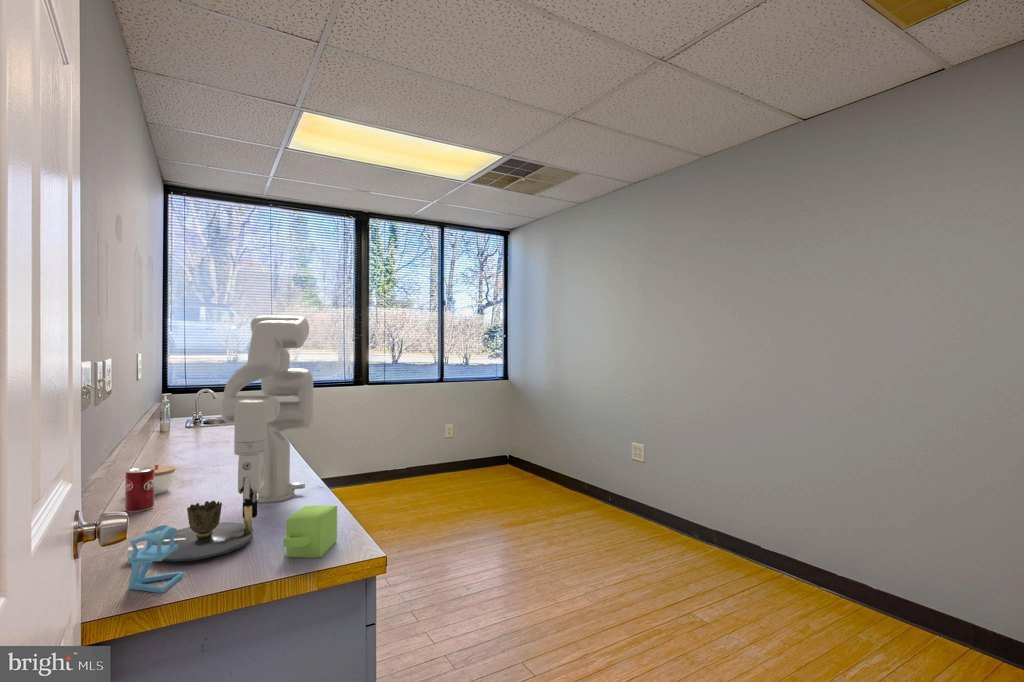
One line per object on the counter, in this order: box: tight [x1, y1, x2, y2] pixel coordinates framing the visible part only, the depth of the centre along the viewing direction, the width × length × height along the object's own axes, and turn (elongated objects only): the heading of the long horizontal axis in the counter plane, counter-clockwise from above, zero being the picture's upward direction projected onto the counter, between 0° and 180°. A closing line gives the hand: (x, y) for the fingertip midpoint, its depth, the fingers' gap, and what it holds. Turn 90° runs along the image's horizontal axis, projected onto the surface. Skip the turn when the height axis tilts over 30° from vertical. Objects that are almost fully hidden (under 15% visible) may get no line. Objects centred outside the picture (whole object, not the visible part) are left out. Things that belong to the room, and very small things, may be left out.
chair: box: [127, 524, 184, 594], centre depth 107 cm, size 8×8×12 cm
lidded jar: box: [150, 463, 176, 495], centre depth 173 cm, size 11×11×9 cm
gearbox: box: [282, 505, 338, 559], centre depth 127 cm, size 18×10×10 cm, turn 178°
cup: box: [186, 500, 223, 539], centre depth 127 cm, size 8×7×8 cm
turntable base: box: [127, 544, 145, 564], centre depth 124 cm, size 22×14×3 cm, turn 125°
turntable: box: [151, 505, 254, 562], centre depth 126 cm, size 22×22×8 cm
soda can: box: [124, 466, 155, 513], centre depth 156 cm, size 7×7×12 cm
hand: (250, 516), depth 133 cm, fingers closed
